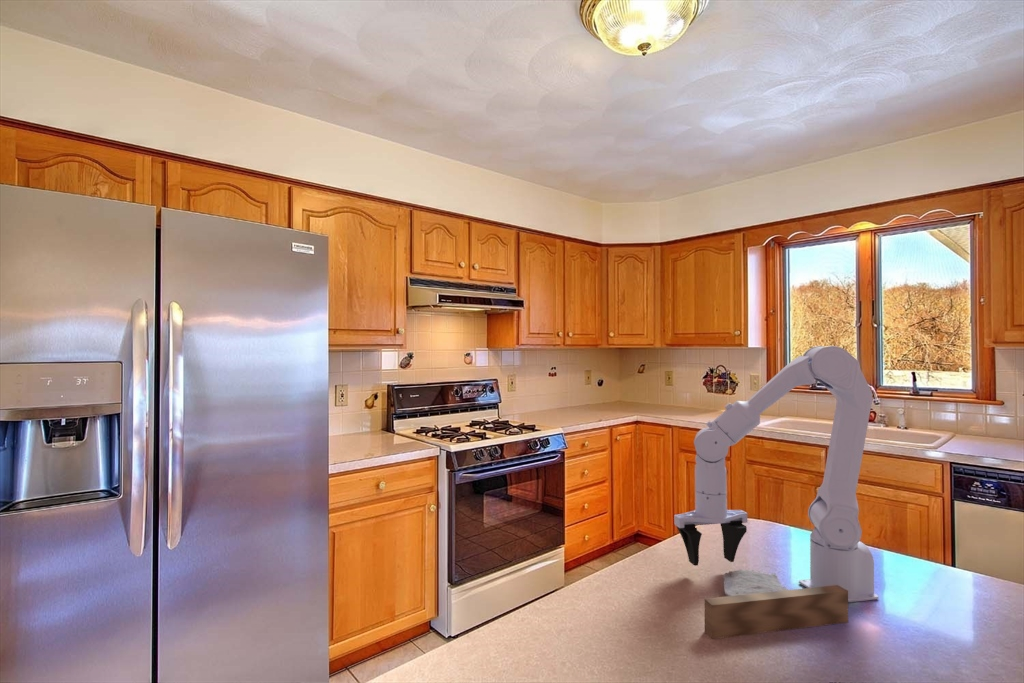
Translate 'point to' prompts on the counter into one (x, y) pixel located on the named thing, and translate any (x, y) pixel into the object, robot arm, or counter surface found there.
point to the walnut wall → (775, 611)
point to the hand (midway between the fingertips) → (711, 561)
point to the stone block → (750, 582)
